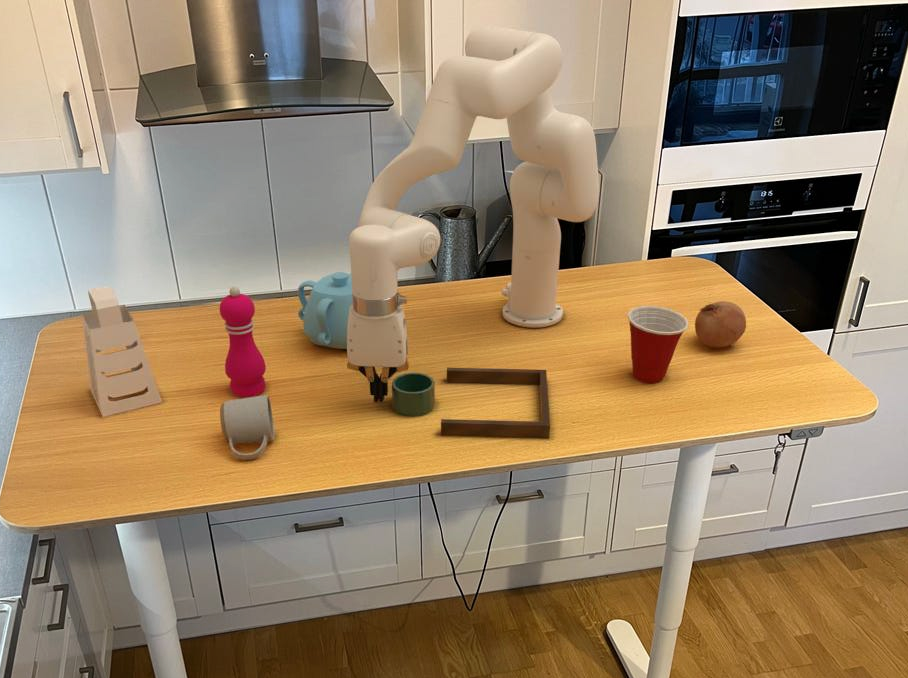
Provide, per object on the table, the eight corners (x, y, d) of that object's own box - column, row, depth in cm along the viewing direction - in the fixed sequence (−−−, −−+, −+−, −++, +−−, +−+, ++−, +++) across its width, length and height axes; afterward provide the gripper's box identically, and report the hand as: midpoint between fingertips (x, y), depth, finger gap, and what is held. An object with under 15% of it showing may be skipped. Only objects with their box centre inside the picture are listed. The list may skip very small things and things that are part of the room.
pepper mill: (275, 382, 171) (262, 281, 160) (256, 401, 166) (242, 297, 154) (240, 377, 173) (225, 276, 162) (221, 395, 168) (204, 292, 156)
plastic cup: (680, 393, 167) (690, 332, 160) (619, 387, 169) (626, 327, 162) (679, 365, 175) (688, 306, 168) (621, 360, 177) (628, 302, 170)
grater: (102, 416, 162) (75, 311, 150) (91, 390, 170) (64, 288, 158) (162, 402, 166) (140, 298, 154) (148, 377, 174) (126, 276, 162)
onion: (698, 362, 183) (683, 323, 177) (707, 331, 188) (693, 292, 182) (747, 356, 177) (733, 315, 171) (755, 324, 182) (742, 284, 177)
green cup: (384, 404, 165) (383, 381, 162) (417, 390, 168) (416, 368, 166) (409, 420, 160) (409, 397, 157) (443, 406, 164) (442, 384, 161)
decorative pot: (394, 350, 182) (392, 285, 174) (313, 362, 178) (308, 296, 170) (372, 316, 194) (370, 254, 187) (297, 327, 190) (291, 264, 183)
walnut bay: (440, 435, 156) (440, 422, 155) (447, 379, 172) (447, 367, 170) (549, 438, 155) (550, 425, 153) (545, 381, 171) (546, 369, 169)
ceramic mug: (226, 429, 158) (219, 390, 153) (274, 425, 159) (269, 386, 154) (224, 464, 150) (217, 424, 145) (275, 460, 151) (269, 420, 146)
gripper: (422, 294, 156) (423, 389, 166) (334, 291, 157) (340, 386, 167) (418, 312, 150) (419, 410, 160) (327, 310, 151) (334, 407, 161)
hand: (379, 398), depth 164 cm, fingers closed
